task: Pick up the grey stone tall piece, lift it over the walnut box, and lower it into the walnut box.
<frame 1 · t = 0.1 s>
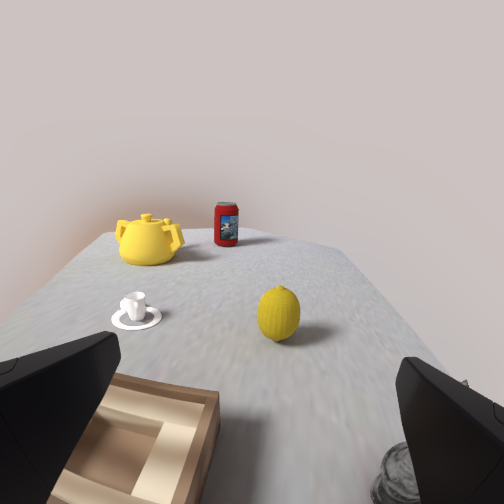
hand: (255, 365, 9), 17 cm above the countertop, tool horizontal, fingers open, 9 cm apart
beverage can: (225, 245, 90), on the countertop
grey stone tall piece: (400, 492, 17), on the countertop
teacup and saucer: (150, 314, 47), on the countertop
walnut box: (114, 467, 18), on the countertop
teapot: (152, 257, 76), on the countertop
lemon: (276, 342, 41), on the countertop
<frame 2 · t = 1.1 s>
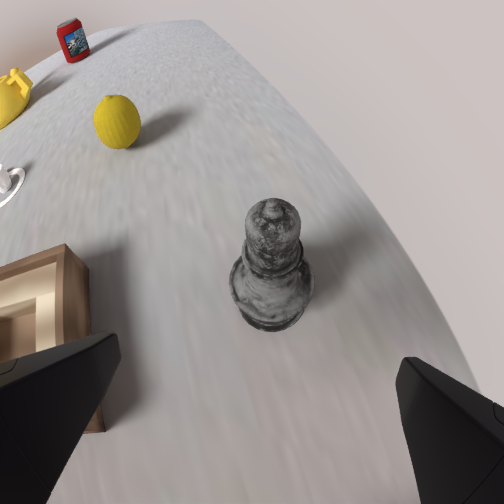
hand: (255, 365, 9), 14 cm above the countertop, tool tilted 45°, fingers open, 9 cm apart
beverage can: (79, 59, 59), on the countertop
grey stone tall piece: (271, 300, 24), on the countertop
teacup and saucer: (17, 175, 36), on the countertop
walnut box: (30, 356, 22), on the countertop
teapot: (12, 111, 49), on the countertop
lemon: (127, 148, 35), on the countertop
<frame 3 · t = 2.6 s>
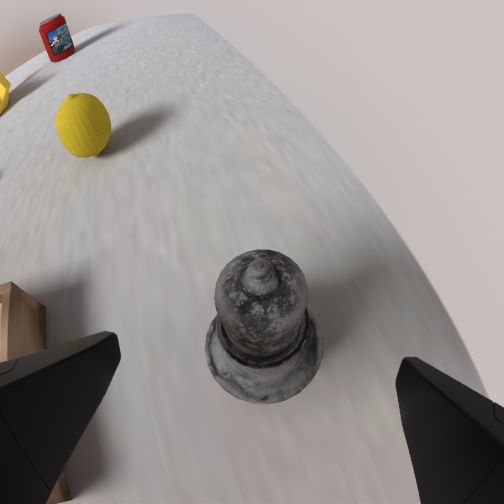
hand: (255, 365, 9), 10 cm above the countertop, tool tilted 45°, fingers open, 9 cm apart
beverage can: (63, 57, 53), on the countertop
grey stone tall piece: (264, 360, 18), on the countertop
lemon: (98, 155, 29), on the countertop
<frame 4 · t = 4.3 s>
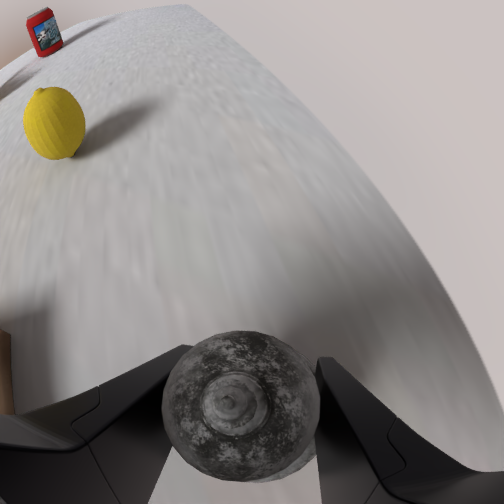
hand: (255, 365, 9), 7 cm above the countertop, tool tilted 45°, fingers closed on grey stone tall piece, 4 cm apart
beverage can: (51, 52, 48), on the countertop
grey stone tall piece: (257, 413, 14), on the countertop, touching gripper
lemon: (72, 157, 25), on the countertop
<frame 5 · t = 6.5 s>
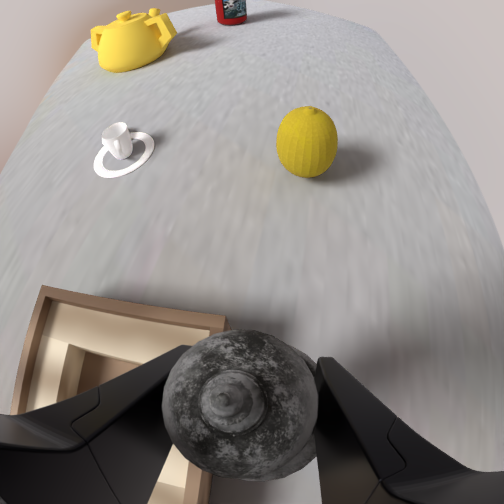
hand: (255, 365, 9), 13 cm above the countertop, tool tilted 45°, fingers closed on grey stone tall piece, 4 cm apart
beverage can: (232, 23, 56), on the countertop
grey stone tall piece: (261, 412, 14), point 6 cm above the countertop, touching gripper
teacup and saucer: (141, 141, 35), on the countertop
walnut box: (122, 410, 20), on the countertop
teapot: (141, 55, 50), on the countertop
lemon: (303, 174, 30), on the countertop
when the fingers open (9 cm above the countertop, at t = 8.6 s): grey stone tall piece drops 1 cm, resting on walnut box.
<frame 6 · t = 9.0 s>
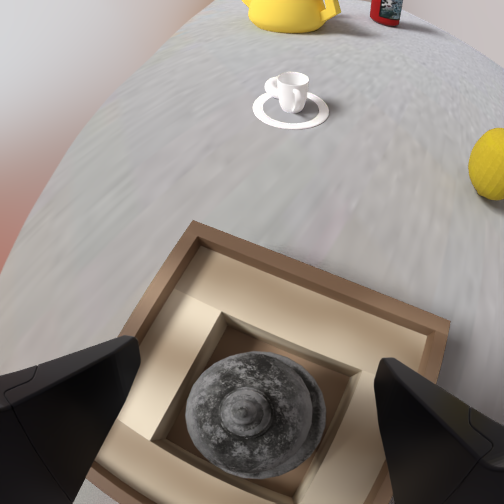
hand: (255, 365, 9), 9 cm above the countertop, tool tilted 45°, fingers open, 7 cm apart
beverage can: (383, 23, 49), on the countertop
grey stone tall piece: (259, 416, 15), point 1 cm above the countertop, touching walnut box
teacup and saucer: (309, 103, 31), on the countertop
walnut box: (259, 413, 16), on the countertop
teapot: (292, 23, 47), on the countertop
lemon: (478, 195, 23), on the countertop
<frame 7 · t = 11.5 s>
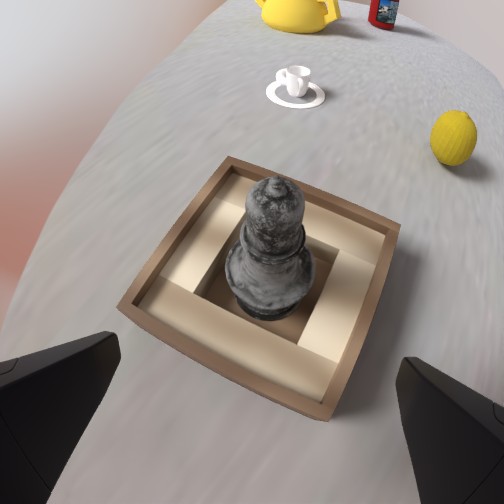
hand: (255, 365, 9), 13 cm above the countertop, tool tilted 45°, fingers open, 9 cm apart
beverage can: (380, 26, 57), on the countertop
grey stone tall piece: (268, 288, 23), point 1 cm above the countertop, touching walnut box
teacup and saucer: (310, 90, 39), on the countertop
walnut box: (268, 290, 24), on the countertop
teapot: (299, 24, 54), on the countertop
lemon: (440, 163, 32), on the countertop
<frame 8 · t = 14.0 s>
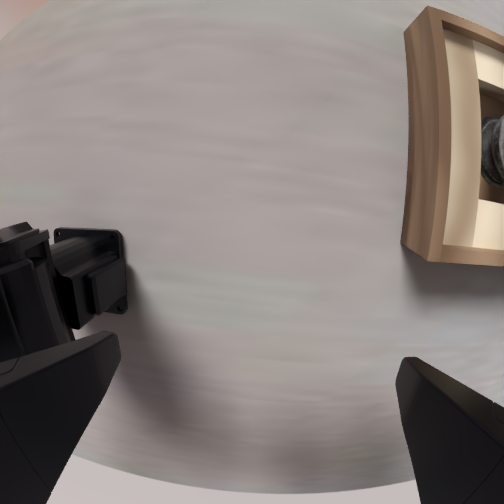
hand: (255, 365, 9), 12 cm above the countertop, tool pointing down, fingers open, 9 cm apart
grey stone tall piece: (497, 151, 16), point 1 cm above the countertop, touching walnut box
walnut box: (493, 150, 16), on the countertop
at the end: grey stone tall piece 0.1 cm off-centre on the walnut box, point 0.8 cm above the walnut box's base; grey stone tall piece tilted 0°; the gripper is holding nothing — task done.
